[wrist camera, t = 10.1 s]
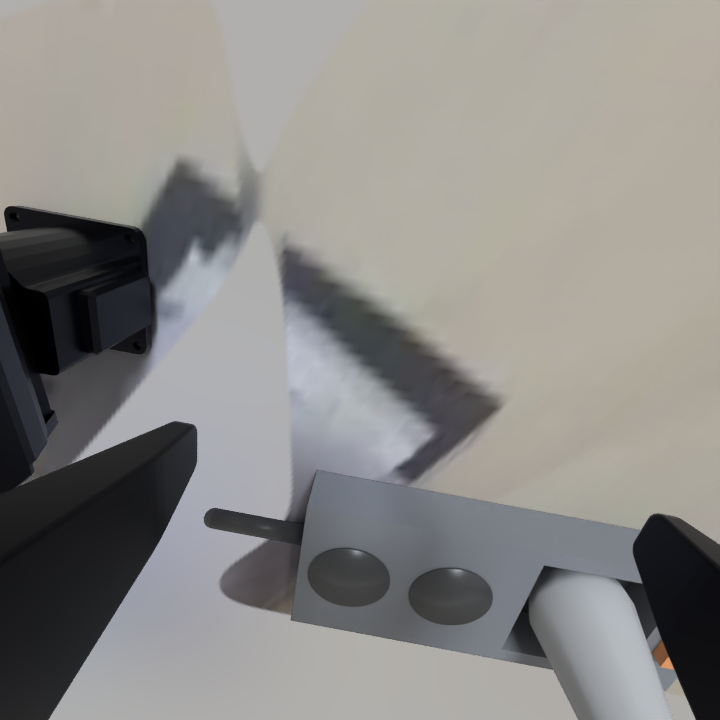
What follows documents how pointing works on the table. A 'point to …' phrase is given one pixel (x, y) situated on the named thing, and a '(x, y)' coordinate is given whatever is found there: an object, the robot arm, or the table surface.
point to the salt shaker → (596, 646)
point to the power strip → (440, 566)
